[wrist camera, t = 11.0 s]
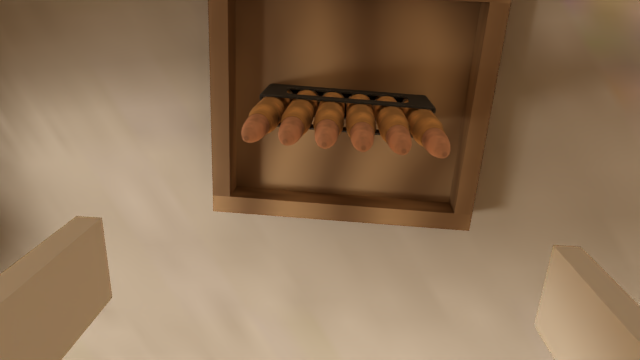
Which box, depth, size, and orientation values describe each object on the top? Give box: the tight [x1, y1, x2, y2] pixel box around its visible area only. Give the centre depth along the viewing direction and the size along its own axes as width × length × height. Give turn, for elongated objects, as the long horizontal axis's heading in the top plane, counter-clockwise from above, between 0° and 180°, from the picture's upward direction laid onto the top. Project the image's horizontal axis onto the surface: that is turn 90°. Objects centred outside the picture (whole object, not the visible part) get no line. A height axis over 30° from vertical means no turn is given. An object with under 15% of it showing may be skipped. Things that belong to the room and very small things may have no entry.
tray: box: [208, 0, 511, 231], centre depth 31 cm, size 18×16×3 cm
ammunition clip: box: [241, 83, 450, 159], centre depth 26 cm, size 11×2×12 cm, turn 86°
